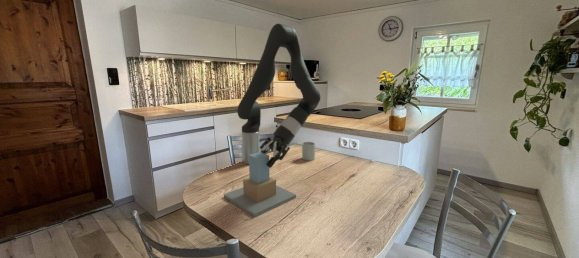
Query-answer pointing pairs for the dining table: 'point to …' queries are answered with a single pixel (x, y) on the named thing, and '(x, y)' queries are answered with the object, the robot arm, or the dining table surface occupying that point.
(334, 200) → the dining table surface
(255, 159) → the tower block
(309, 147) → the cup
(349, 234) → the dining table surface
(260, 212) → the tower base
